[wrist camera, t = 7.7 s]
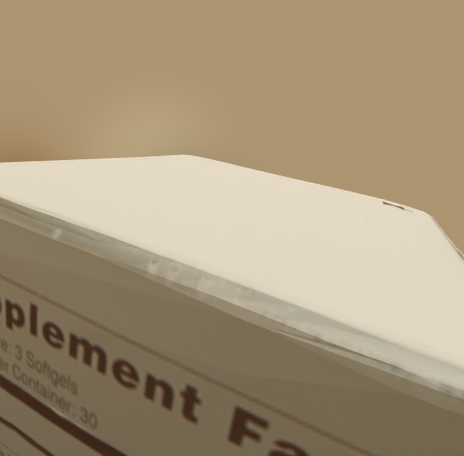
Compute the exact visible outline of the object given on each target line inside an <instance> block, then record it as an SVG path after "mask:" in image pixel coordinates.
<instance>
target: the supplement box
mask: <svg viewBox="0 0 464 456" xmlns="http://www.w3.org/2000/svg"><path fill="white" fill-rule="evenodd" d="M0 456H464V255H463V254H462V253H461V252H460V251H459V250H458V249H457V248H456V247H455V245H454V244H453V243H452V241H451V240H450V239H449V238H448V237H447V235H446V234H445V233H444V232H443V230H442V229H441V227H440V226H439V225H438V224H437V222H436V221H435V219H434V218H433V217H432V216H431V215H429V214H427V213H425V212H423V211H420V210H417V209H414V208H411V207H407V206H404V205H401V204H397V203H394V202H390V201H387V200H383V199H379V198H374V197H371V196H366V195H362V194H358V193H354V192H349V191H345V190H341V189H337V188H332V187H328V186H323V185H319V184H315V183H310V182H306V181H301V180H296V179H293V178H288V177H284V176H279V175H275V174H270V173H267V172H262V171H258V170H253V169H249V168H245V167H241V166H236V165H233V164H229V163H224V162H220V161H216V160H212V159H207V158H202V157H196V156H191V155H172V156H153V157H135V158H111V159H84V160H62V161H61V160H59V161H35V162H8V163H0Z"/></svg>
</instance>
